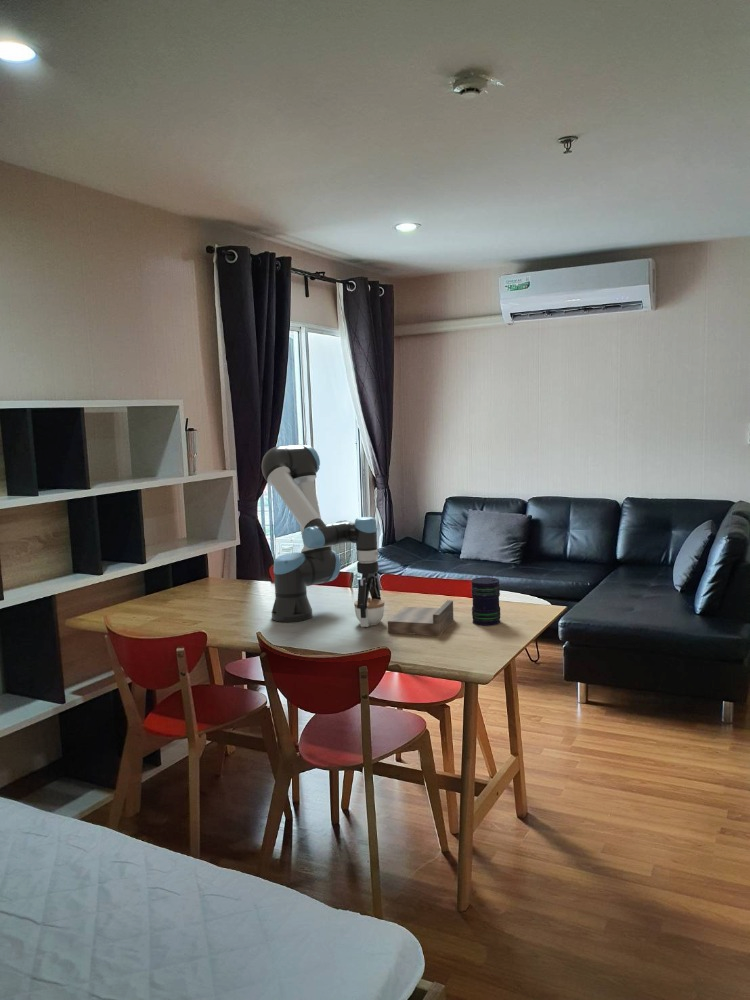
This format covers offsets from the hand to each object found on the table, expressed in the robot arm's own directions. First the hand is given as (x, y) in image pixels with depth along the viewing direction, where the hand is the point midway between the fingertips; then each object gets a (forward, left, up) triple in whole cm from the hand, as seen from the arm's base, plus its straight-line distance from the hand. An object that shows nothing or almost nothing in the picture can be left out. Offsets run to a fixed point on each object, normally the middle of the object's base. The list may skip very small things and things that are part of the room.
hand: (370, 622), depth 274 cm
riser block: (+19, 0, 0) cm, 19 cm away
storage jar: (+40, +9, -1) cm, 41 cm away
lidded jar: (0, 0, -1) cm, 1 cm away
